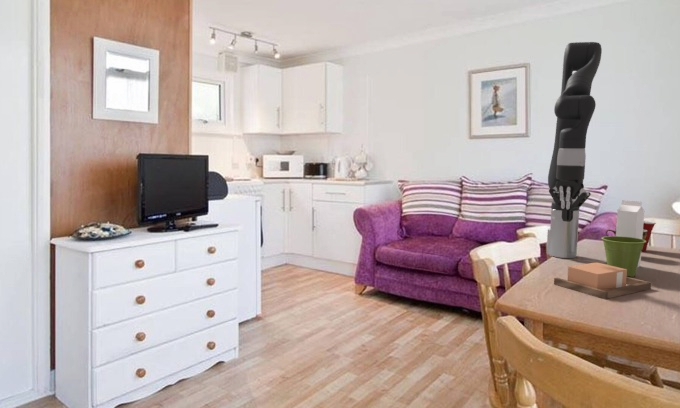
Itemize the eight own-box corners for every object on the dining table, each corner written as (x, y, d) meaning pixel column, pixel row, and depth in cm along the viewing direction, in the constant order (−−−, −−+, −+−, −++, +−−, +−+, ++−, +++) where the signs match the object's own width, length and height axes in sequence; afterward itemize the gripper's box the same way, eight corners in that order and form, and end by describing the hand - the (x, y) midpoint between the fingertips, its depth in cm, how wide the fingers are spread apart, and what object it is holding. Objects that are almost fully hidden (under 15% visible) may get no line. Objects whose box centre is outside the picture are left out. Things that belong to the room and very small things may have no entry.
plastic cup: (661, 252, 176) (663, 221, 174) (639, 253, 173) (641, 222, 171) (635, 246, 186) (637, 217, 185) (614, 248, 183) (616, 218, 182)
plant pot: (637, 271, 146) (639, 237, 145) (648, 281, 135) (651, 243, 134) (595, 268, 150) (597, 234, 149) (603, 277, 139) (606, 241, 137)
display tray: (553, 284, 131) (554, 278, 131) (598, 275, 141) (599, 270, 140) (604, 299, 118) (605, 292, 118) (650, 288, 127) (651, 282, 127)
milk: (633, 269, 149) (638, 202, 147) (613, 265, 154) (617, 200, 152) (640, 266, 153) (645, 201, 150) (620, 262, 158) (625, 199, 155)
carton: (566, 287, 129) (568, 266, 129) (595, 282, 134) (596, 262, 134) (596, 296, 121) (598, 274, 120) (625, 290, 126) (627, 269, 125)
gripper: (543, 163, 140) (540, 218, 142) (582, 165, 128) (578, 225, 130) (560, 162, 143) (556, 217, 145) (600, 164, 131) (595, 223, 134)
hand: (567, 221), depth 138 cm, fingers closed
